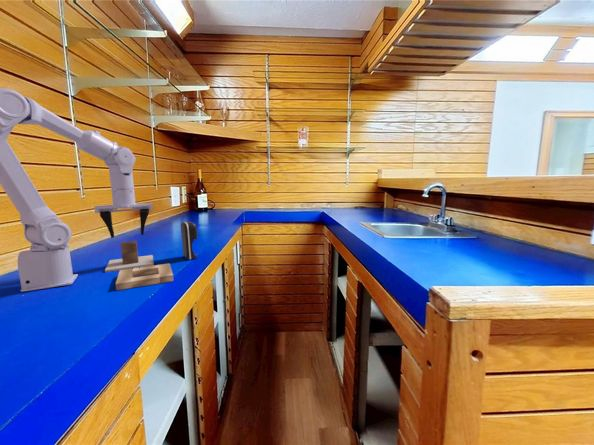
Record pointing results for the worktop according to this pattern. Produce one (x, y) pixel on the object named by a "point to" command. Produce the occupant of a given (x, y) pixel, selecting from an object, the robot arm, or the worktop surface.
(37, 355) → the worktop surface
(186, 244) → the coffee machine
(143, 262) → the mat
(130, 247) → the block
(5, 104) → the robot arm
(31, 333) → the worktop surface
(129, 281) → the wooden board
